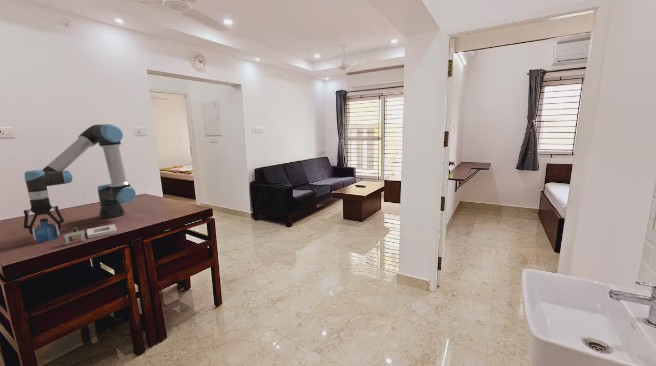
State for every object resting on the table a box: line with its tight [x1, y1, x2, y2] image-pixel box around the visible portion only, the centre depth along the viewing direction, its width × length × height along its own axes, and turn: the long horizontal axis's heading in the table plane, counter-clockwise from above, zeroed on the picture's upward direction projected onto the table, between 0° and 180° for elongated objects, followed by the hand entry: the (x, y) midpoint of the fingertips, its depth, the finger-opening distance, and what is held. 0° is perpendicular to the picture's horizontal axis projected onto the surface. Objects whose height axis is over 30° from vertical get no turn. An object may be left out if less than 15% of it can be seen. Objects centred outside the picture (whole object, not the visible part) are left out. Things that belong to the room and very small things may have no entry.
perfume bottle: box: [35, 217, 59, 243], centre depth 159 cm, size 6×6×12 cm
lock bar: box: [71, 226, 80, 241], centre depth 162 cm, size 8×3×5 cm, turn 41°
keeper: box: [63, 230, 86, 246], centre depth 155 cm, size 2×8×5 cm, turn 131°
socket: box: [86, 223, 118, 239], centre depth 169 cm, size 14×14×2 cm
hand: (47, 236), depth 160 cm, fingers closed on perfume bottle, 9 cm apart
